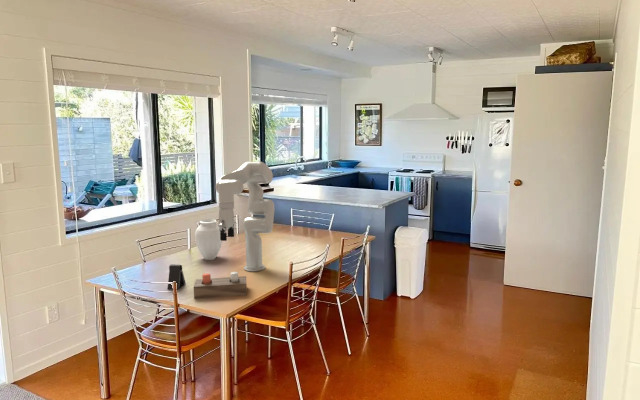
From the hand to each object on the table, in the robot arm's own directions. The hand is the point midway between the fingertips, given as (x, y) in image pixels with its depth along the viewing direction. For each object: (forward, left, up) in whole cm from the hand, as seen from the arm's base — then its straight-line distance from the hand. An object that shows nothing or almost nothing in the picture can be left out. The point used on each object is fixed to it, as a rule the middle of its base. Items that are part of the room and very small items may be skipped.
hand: (227, 238), depth 239 cm
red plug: (+3, -11, -23) cm, 26 cm away
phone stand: (-11, -28, -28) cm, 41 cm away
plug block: (+3, -4, -28) cm, 28 cm away
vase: (-63, -14, -28) cm, 70 cm away
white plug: (+3, +3, -23) cm, 24 cm away
